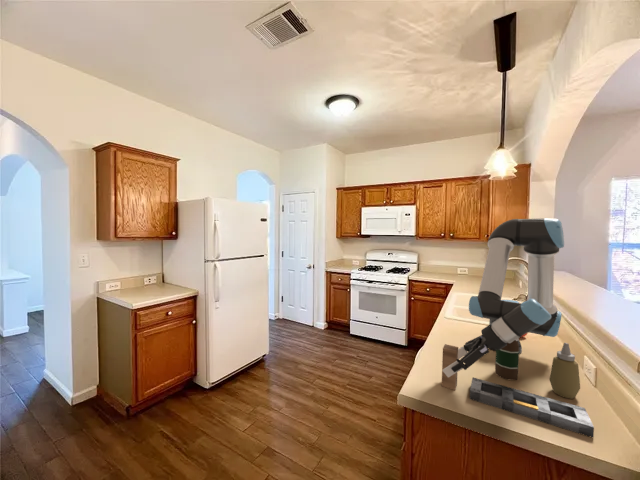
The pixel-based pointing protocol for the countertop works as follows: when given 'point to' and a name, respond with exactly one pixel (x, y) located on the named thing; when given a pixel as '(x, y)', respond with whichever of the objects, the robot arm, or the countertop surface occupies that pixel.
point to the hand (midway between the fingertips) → (448, 365)
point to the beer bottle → (508, 361)
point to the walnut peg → (448, 365)
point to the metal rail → (532, 406)
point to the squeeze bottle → (565, 373)
